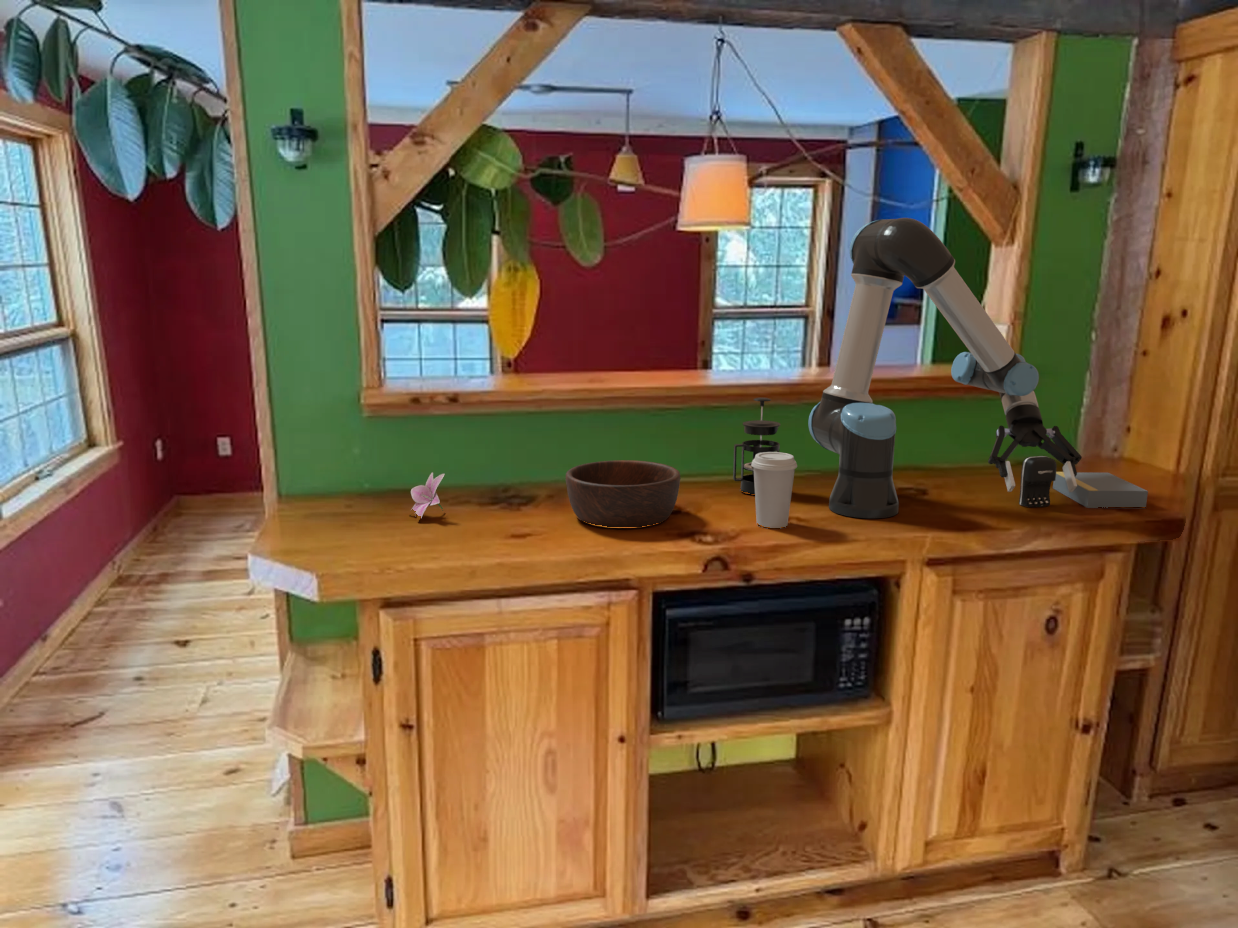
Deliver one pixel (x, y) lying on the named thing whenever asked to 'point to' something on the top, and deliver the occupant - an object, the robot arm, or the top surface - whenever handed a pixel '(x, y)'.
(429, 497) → the lily
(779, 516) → the coffee cup
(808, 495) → the top surface
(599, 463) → the wooden bowl
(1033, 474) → the battery charger
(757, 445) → the french press
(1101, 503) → the dock
